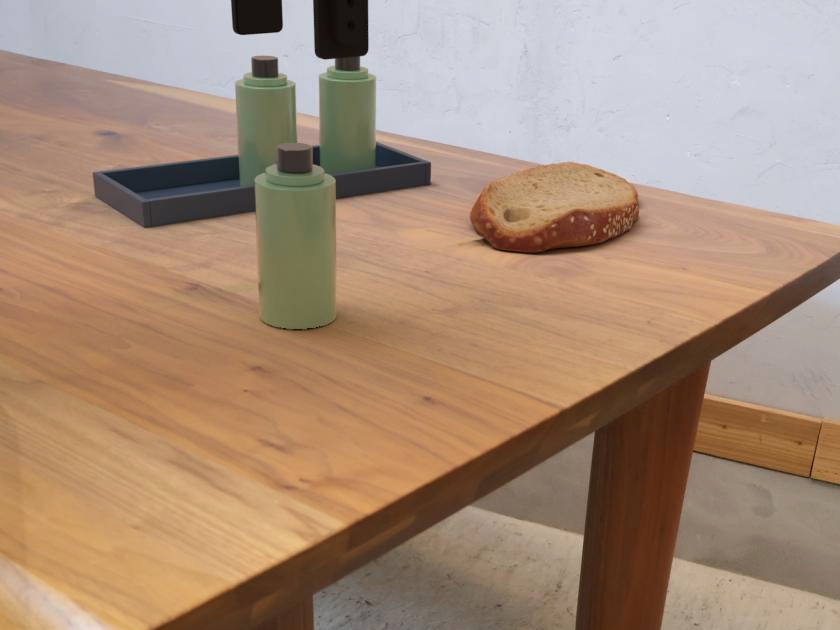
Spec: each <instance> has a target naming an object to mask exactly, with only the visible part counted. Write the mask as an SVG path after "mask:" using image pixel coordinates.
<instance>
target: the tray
mask: <svg viewBox="0 0 840 630" xmlns="http://www.w3.org/2000/svg"><path fill="white" fill-rule="evenodd" d="M311 146H312V148H313V164H314V165H317V166H320V144H316V145H311ZM329 175H331V176H333V177H334V178H335V180H336V200H341V199H346V198H348V199H349V198H353V197H360V196H367V195H368V196H369V195H372V194H373V195H375V194H381V193H388V192H394V191H400V190H405V189H406V190H408V189H413V188H420V187H427V186H431V183H432V180H431V179H432V162H431V161H429V160H426V159H423V158H421V157H418V156H415V155H413V154H410V153H408V152H404V151H402V150H399V149H397V148H394V147H391V146H389V145H386V144H384V143H382V142H379V141H376V167H375V168H372V169H365V170H358V171H350V172H343V173H336V174H329ZM92 180H93V190H94V196H95V198H97V199H98V200H99V201H101V202H103V203H104V204H106V205H107V206H109V207H110V208H112V209H113V210H115V211H117V212H118V213H120V214H121V215H123V216H124V217H126V218H128V219H130V221H132V222H134V223H136V224H137V225H139V226H140V227H142V228H144V229H148V228H155V227H162V226H169V225H176V224H181V223H188V222H194V221H202V220H208V219H214V218H221V217H228V216H235V215H241V214H247V213H254V212H255V187H254V185H248V186H241V187H240V181H239V159H238V154H233V155H225V156H217V157H209V158H199V159H192V160H182V161H174V162H166V163H158V164H150V165H142V166H135V167H126V168H116V169H107V170H100V171H92ZM255 213H256V212H255Z"/></svg>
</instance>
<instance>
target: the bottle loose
mask: <svg viewBox="0 0 840 630" xmlns="http://www.w3.org/2000/svg"><path fill="white" fill-rule="evenodd" d="M312 146H313V145H310V144H307V143H303V142H297V143H284V144H280V145H278V146H277V147H276V157H277V164H274V165H271V166H269V167H267V168H266V170H265V173H262V174H260V175H258V176H256V177H255V179H254V187H255V233H256V235H255V236H256V258H257V261H256V262H257V263H256V264H257V283H258V284H257V285H258V286H257V287H258V288H257V289H258V310H259V311H258V313H259V317H260V320H261V321H262V322H263V323H265V324H266V325H268V324H269V326H271V325H272V326H271V327H274V328H278V327H279V328H278V329H283V328H286V329H285V330H293V329H302V330H308V329H307V328H313V329H317V328H316V327H318V328H322V327H325V326H327V325H329V324H331V323H333V322H334V321H335V320H336V318H337V314H338V310H337V309H338V307H337V302H338V301H337V298H338V297H337V199H336V180H335V178H334V177H333V176H331V175H329V174H326V173H324V169H323V168H322V167H320V166H317V165H314V164H313V148H312ZM319 326H320V327H319ZM321 326H322V327H321ZM280 327H281V328H280Z"/></svg>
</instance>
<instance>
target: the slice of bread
mask: <svg viewBox="0 0 840 630" xmlns="http://www.w3.org/2000/svg"><path fill="white" fill-rule="evenodd" d="M639 215H640V208H639V192H638V191H637V188H636V187H635V186H634V185H633V184H631V183H630V182H629V181H627V179H625V178H623V177H621V176H619V175H617V174H616V173H612V172H609V171H606V170H604V169H601V168H598V167H595V166H592V165H589V164H584V163H579V162H575V161H565V162H557V163H549V164H546V165H538V166H536V167H531V168H528V169H525V170H522V171H518V172H516V173H515V174H514V173H513V174H510V175H509V176H504V177H503V178H500V179H498V180H496V181H491V182H489V183H488V184H487V185H486V186H485V187H484V188H483V189H482V191H481V193H480V194H479V195H478V197H477V199H476V201H475V202H474V204H473V206H472V208H471V210H470V214H469V219H470V223H471V224H472V226H473V228H474V229H475V230H476V232H477V233H478V234H479V235H480V236H481V237H482V238H483V239H484V240H485V241H487V242H489V244H490V245H491V246H492V247H493V248H495V249H498V250H500V251H512V252H521V253H532V254H533V253H534V254H535V253H536V254H537V253H543V252H545V251H548V250H554V249H561V248H562V249H563V248H576V247H577V248H578V247H585V246H591V245H593V246H594V245H598V244H601V243H604V242H606V241H607V240H609V239H614V238H616V237H618V236H620V235H622V234H624V233H625V232H626V231H629V230H631V228H632V226H633V223H634V222H635V221H636V220H638V218H639Z"/></svg>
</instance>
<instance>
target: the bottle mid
mask: <svg viewBox="0 0 840 630" xmlns="http://www.w3.org/2000/svg"><path fill="white" fill-rule="evenodd" d="M250 63H251V72H246V73H244V74H243V76H242V79H238V80H236V81H235V82H234V90H235V91H234V93H235V110H236V112H235V113H236V115H235V116H236V133H237V134H236V135H237V137H236V138H237V155H238V159H239V181H240V187H241V186H248V185H254V179H255V177H256V176H258V175H260V174H262V173H265V170H266V168H267V167H269V166H271V165H274V164H277V157H276V147H277V146H278V145H280V144H284V143H298V116H297V83H296V82H295V81H293V80H291V79H288V75H287V74H285V73H282V72H280V71H279V70H280V69H279V58H278V57H277V56H273V55H254V56H251V58H250Z"/></svg>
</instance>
